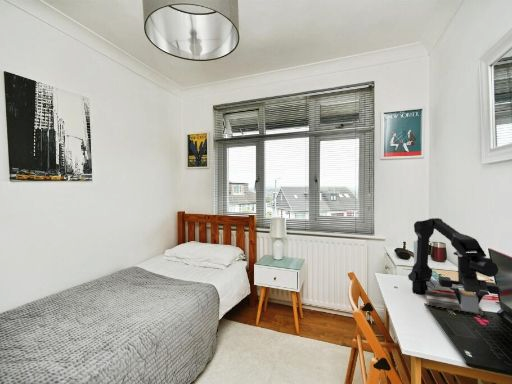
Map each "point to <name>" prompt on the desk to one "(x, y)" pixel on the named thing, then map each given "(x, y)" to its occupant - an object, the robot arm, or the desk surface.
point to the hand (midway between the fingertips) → (467, 305)
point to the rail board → (445, 301)
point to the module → (468, 301)
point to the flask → (415, 251)
